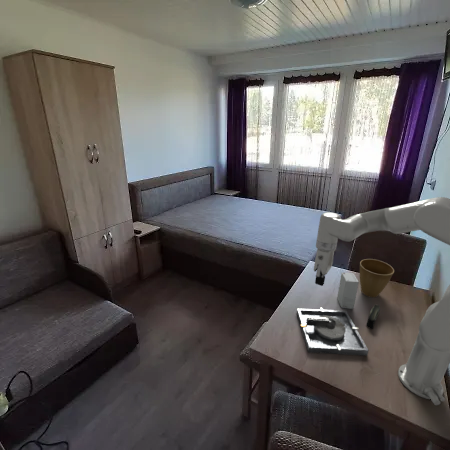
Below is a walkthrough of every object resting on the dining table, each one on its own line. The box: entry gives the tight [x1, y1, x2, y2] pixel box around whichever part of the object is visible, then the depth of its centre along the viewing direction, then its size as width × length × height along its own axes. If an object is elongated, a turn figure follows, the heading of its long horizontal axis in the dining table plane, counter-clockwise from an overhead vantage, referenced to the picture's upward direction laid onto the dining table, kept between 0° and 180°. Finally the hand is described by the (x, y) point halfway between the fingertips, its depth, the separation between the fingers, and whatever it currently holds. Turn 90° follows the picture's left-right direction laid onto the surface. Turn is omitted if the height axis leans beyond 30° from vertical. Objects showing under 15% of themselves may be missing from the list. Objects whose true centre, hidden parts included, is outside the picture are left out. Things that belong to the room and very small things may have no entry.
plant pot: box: [359, 258, 395, 298], centre depth 133 cm, size 15×15×16 cm
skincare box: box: [336, 272, 360, 310], centre depth 126 cm, size 8×6×15 cm
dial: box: [306, 316, 346, 341], centre depth 109 cm, size 16×12×6 cm
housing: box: [296, 307, 370, 356], centre depth 110 cm, size 23×23×3 cm
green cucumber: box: [366, 303, 381, 329], centre depth 118 cm, size 5×3×15 cm
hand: (319, 283), depth 110 cm, fingers closed
